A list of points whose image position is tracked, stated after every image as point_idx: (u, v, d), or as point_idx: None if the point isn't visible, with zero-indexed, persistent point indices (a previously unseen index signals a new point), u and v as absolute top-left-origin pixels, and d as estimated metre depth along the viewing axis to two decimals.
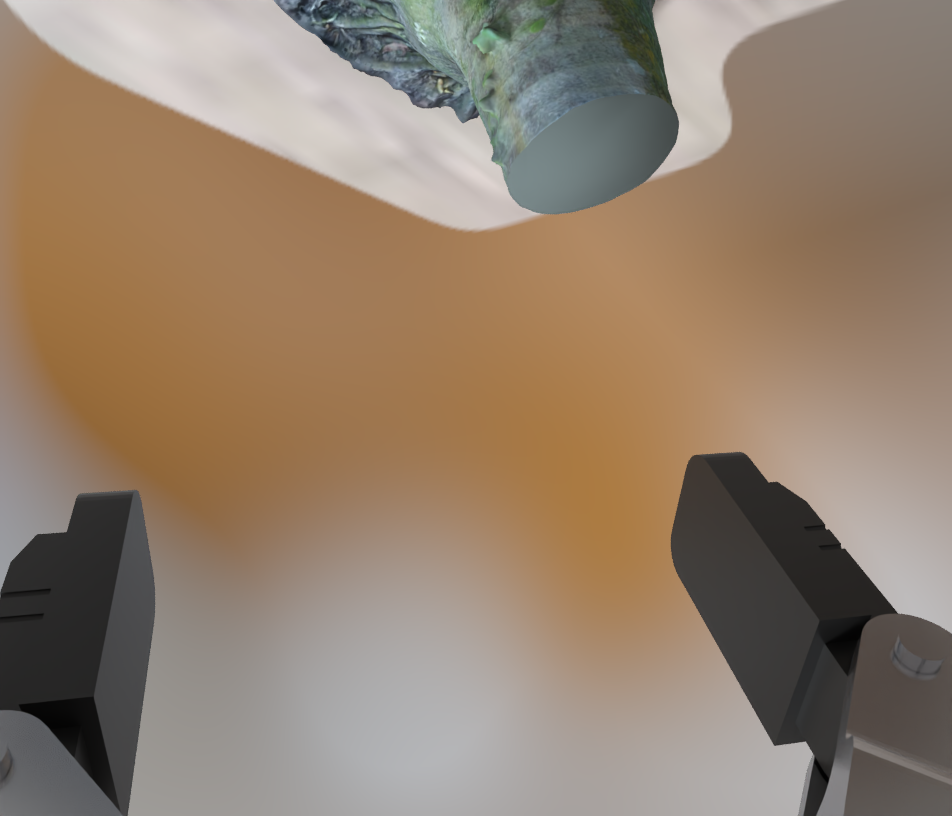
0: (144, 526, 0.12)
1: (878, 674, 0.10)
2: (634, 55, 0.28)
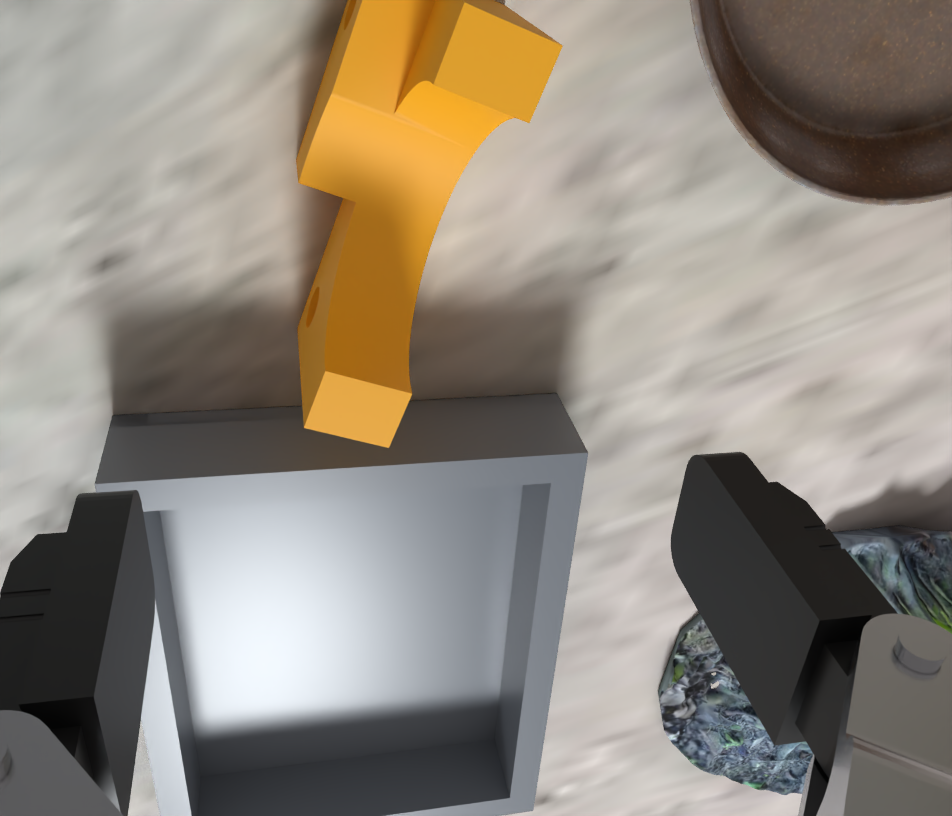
0: (144, 526, 0.12)
1: (878, 674, 0.10)
2: None
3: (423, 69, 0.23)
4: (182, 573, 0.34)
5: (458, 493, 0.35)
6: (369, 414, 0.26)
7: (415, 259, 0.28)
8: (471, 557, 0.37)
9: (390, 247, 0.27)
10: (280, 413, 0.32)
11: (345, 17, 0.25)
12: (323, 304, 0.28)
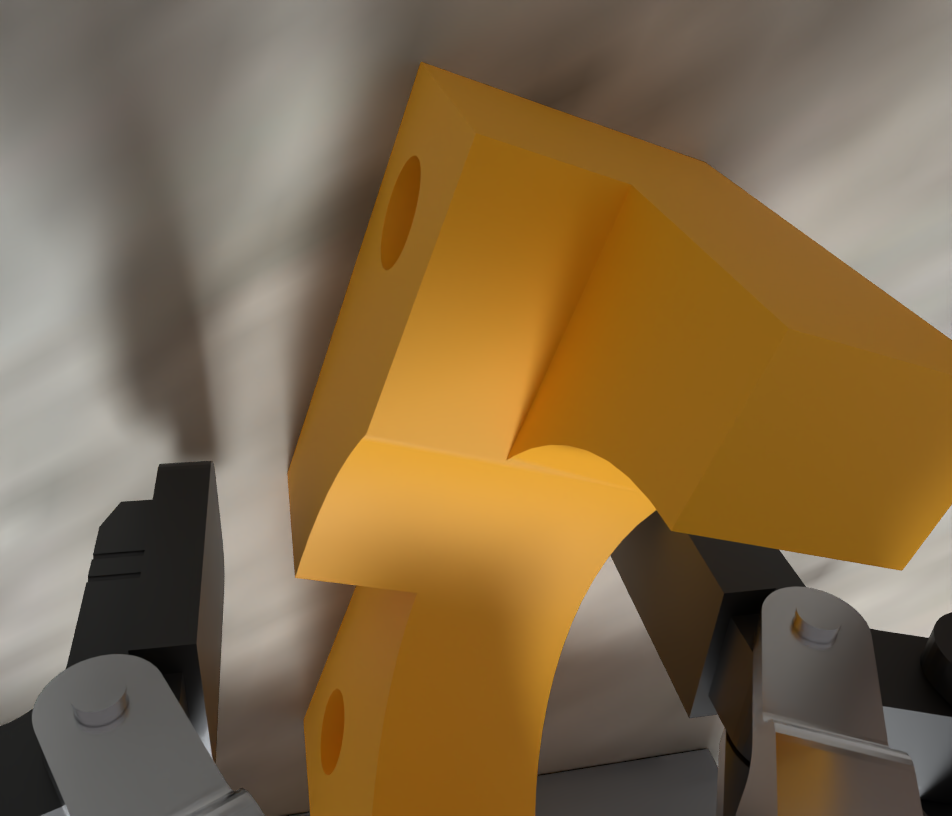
0: (217, 496, 0.13)
1: (783, 650, 0.10)
2: None
3: (604, 419, 0.09)
4: None
5: None
6: None
7: (535, 671, 0.14)
8: None
9: (487, 659, 0.14)
10: None
11: (382, 228, 0.11)
12: (356, 776, 0.14)
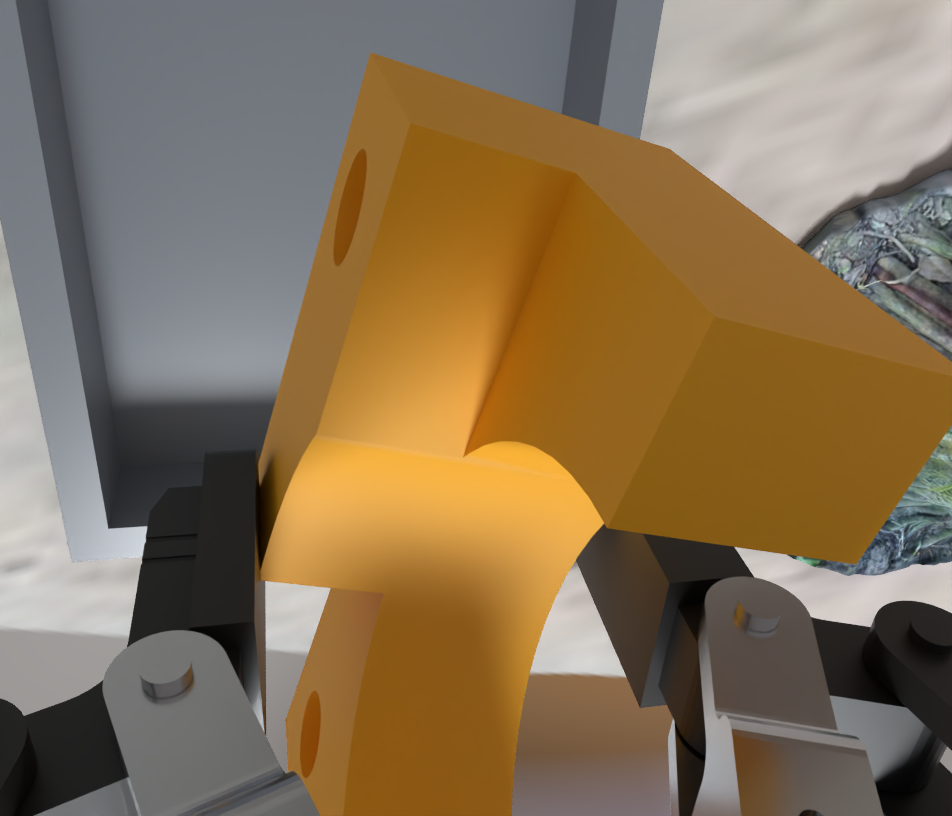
0: (259, 483, 0.13)
1: (728, 642, 0.10)
2: None
3: (549, 414, 0.09)
4: (81, 88, 0.23)
5: None
6: None
7: (509, 671, 0.14)
8: None
9: (459, 659, 0.13)
10: None
11: (335, 223, 0.11)
12: (329, 779, 0.14)
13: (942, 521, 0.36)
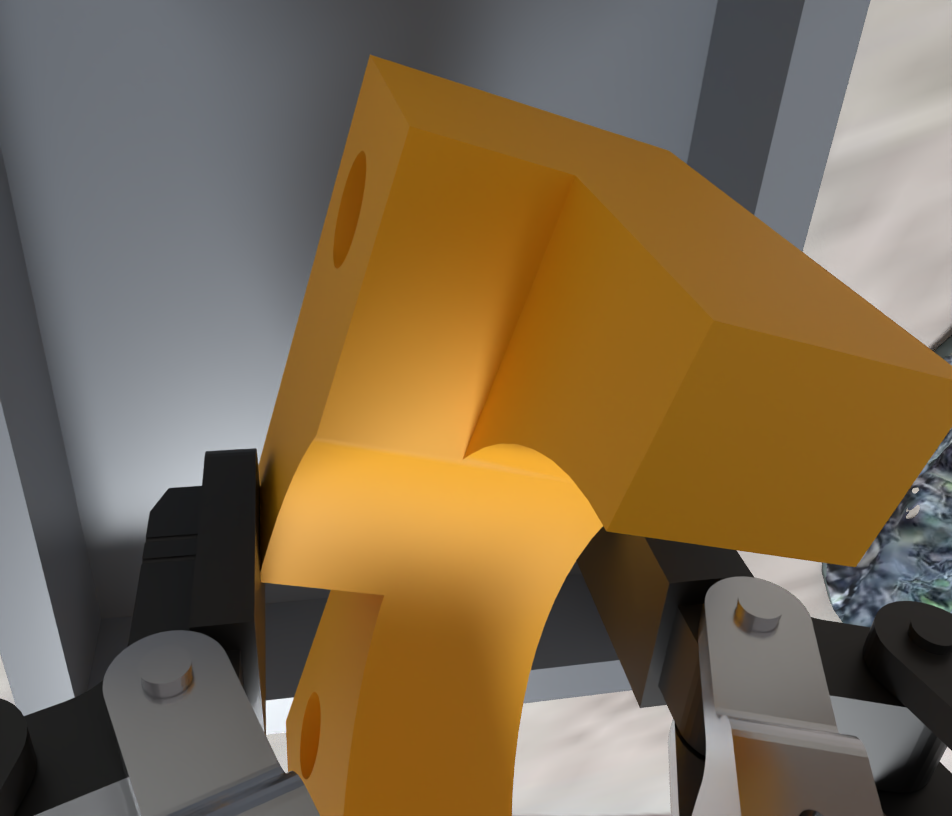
0: (259, 483, 0.13)
1: (728, 642, 0.10)
2: None
3: (549, 417, 0.09)
4: (27, 141, 0.17)
5: None
6: None
7: (509, 672, 0.14)
8: None
9: (459, 661, 0.13)
10: None
11: (335, 226, 0.11)
12: (329, 780, 0.14)
13: None
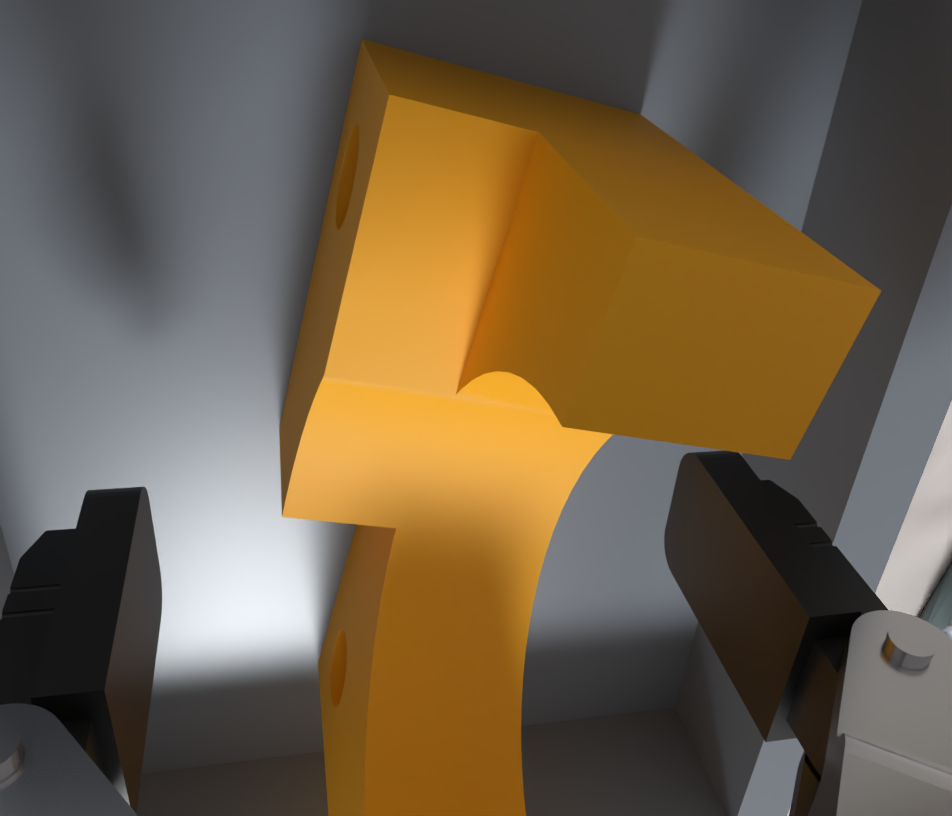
0: (151, 523, 0.12)
1: (868, 671, 0.10)
2: None
3: (520, 343, 0.10)
4: None
5: (693, 42, 0.13)
6: None
7: (515, 600, 0.15)
8: None
9: (467, 589, 0.15)
10: None
11: (337, 193, 0.13)
12: (355, 701, 0.15)
13: None
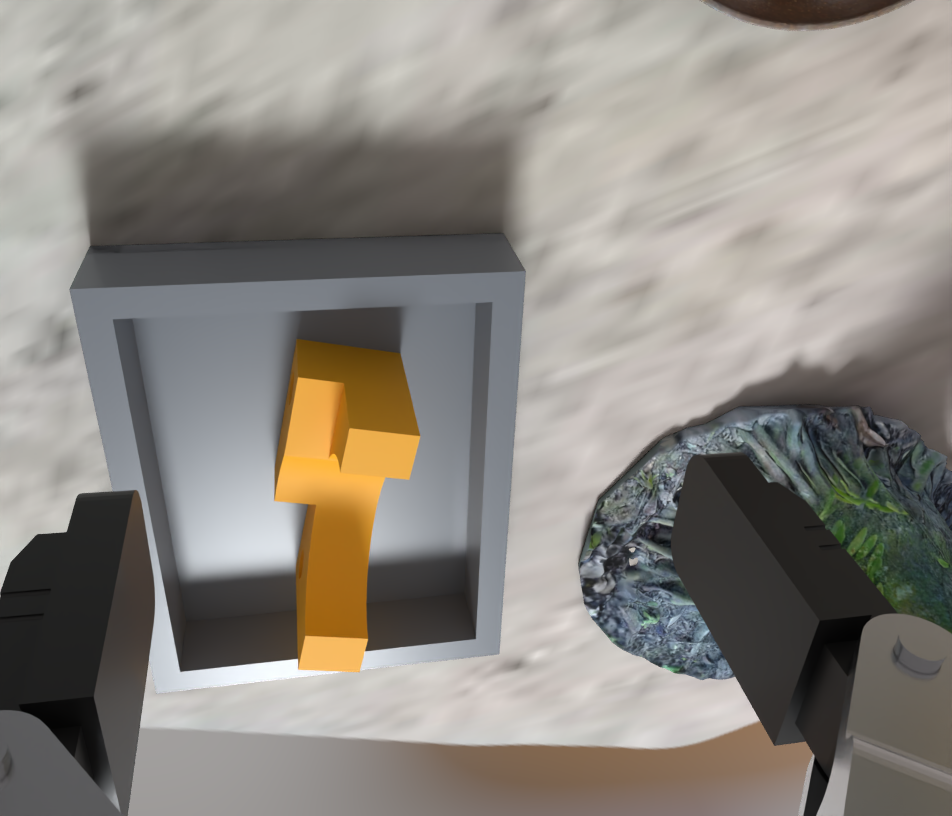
0: (144, 526, 0.12)
1: (878, 674, 0.10)
2: None
3: (337, 447, 0.34)
4: (160, 406, 0.37)
5: (414, 330, 0.38)
6: (341, 655, 0.38)
7: (364, 532, 0.39)
8: (430, 398, 0.39)
9: (345, 527, 0.39)
10: (243, 245, 0.35)
11: (290, 389, 0.37)
12: (304, 571, 0.39)
13: None
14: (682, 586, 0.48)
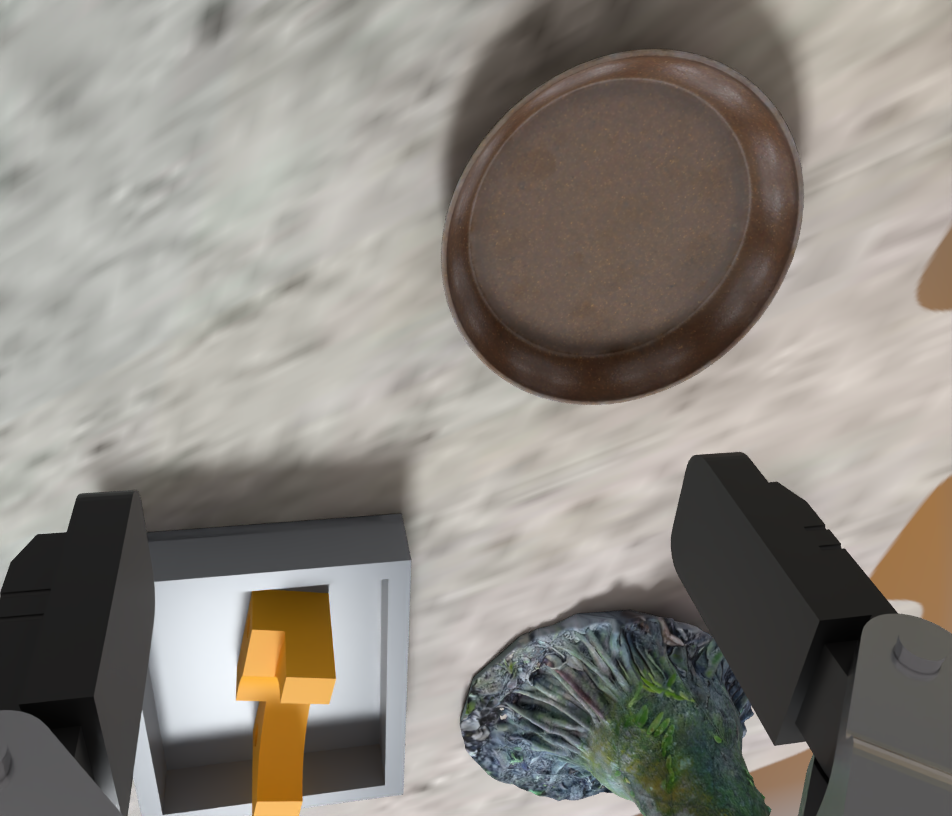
0: (144, 526, 0.12)
1: (878, 674, 0.10)
2: None
3: (279, 678, 0.49)
4: None
5: None
6: (283, 812, 0.52)
7: (302, 717, 0.54)
8: (350, 620, 0.54)
9: (288, 715, 0.53)
10: (213, 532, 0.49)
11: (247, 623, 0.51)
12: (258, 746, 0.54)
13: None
14: (539, 737, 0.63)
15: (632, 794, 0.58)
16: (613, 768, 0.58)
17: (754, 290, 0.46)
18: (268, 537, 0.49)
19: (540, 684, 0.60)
